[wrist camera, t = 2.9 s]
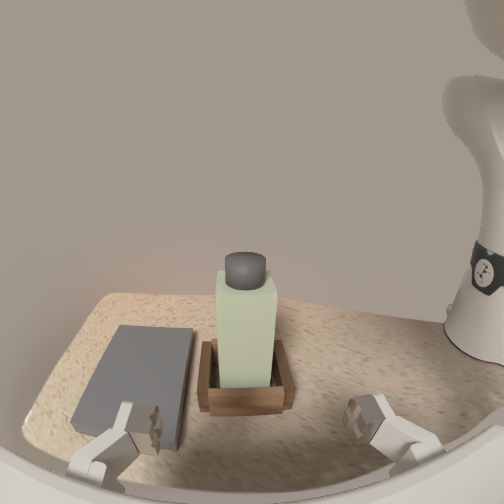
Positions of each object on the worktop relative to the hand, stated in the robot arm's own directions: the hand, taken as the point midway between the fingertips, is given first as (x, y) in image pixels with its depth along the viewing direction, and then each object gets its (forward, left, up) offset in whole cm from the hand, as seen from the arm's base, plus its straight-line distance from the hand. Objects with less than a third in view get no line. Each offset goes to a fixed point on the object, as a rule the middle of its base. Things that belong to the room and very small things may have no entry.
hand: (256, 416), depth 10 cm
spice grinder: (0, -13, -12) cm, 18 cm away
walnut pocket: (0, -13, -12) cm, 18 cm away
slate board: (+11, -13, -12) cm, 21 cm away
